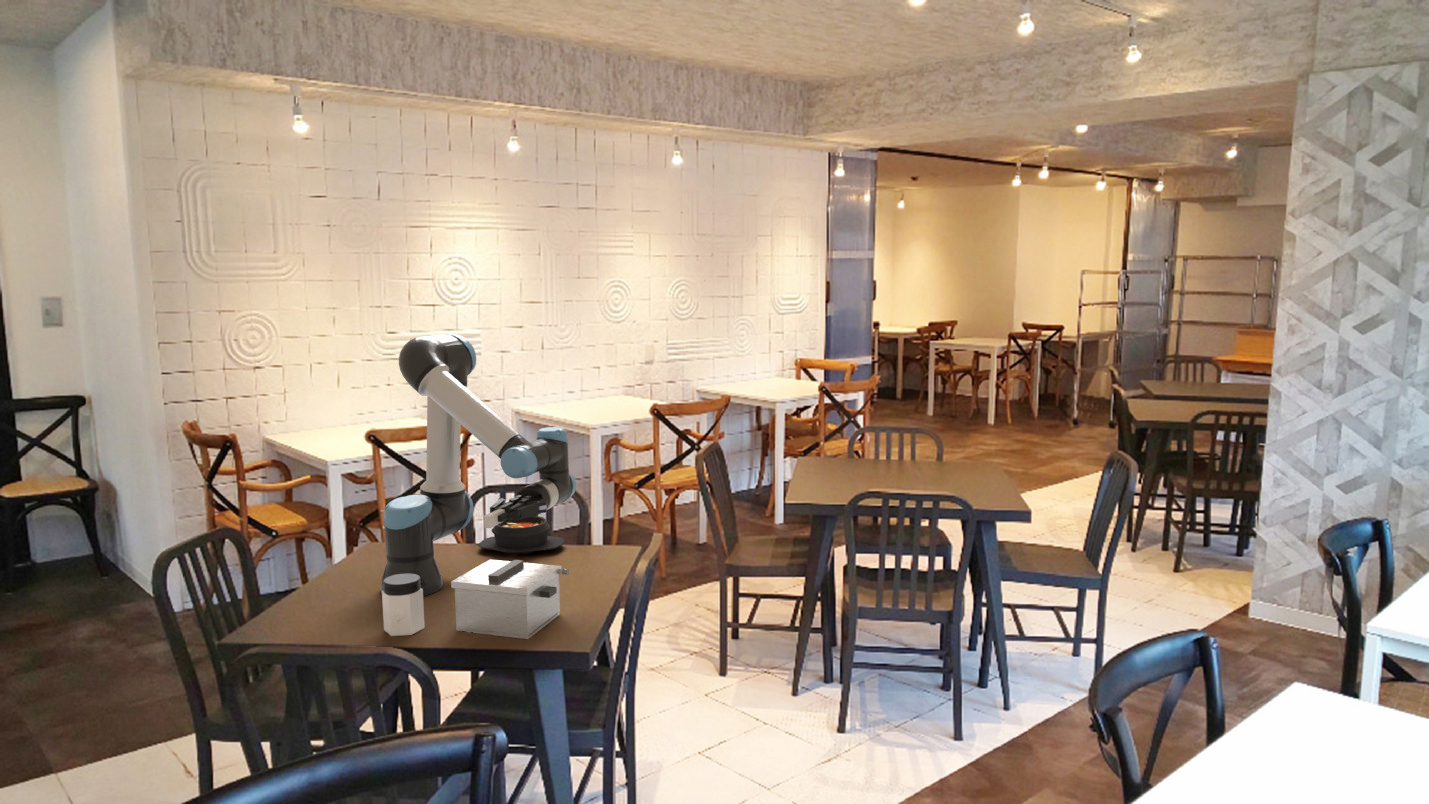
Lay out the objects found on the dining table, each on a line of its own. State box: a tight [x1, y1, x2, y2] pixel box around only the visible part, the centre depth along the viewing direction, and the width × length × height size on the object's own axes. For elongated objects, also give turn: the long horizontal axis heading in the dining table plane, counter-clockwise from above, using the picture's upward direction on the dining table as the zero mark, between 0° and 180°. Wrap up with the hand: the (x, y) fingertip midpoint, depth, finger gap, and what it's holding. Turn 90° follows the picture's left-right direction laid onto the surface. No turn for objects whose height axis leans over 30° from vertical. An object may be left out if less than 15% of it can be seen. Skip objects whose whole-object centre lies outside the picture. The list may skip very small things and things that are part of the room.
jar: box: [381, 573, 425, 637], centre depth 219 cm, size 9×8×12 cm
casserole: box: [478, 515, 565, 555], centre depth 282 cm, size 25×19×8 cm
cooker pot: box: [454, 568, 570, 640], centre depth 223 cm, size 18×23×11 cm
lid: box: [450, 559, 563, 595], centre depth 222 cm, size 17×19×3 cm
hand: (487, 522), depth 212 cm, fingers closed
